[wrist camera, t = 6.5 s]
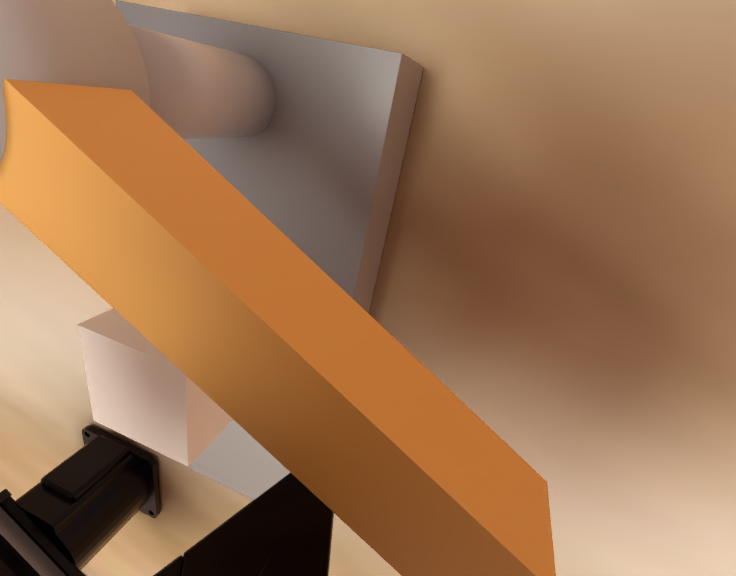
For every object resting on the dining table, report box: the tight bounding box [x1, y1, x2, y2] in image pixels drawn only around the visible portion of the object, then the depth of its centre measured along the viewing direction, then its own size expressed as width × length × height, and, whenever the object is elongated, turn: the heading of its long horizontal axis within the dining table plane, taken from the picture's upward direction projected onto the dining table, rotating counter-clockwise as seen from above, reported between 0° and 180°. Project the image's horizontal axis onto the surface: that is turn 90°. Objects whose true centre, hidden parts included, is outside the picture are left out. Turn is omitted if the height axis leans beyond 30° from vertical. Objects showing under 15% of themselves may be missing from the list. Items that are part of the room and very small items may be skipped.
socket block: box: [116, 0, 424, 314], centre depth 14 cm, size 15×10×8 cm, turn 169°
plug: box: [78, 308, 233, 467], centre depth 16 cm, size 4×4×8 cm
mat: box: [190, 420, 290, 500], centre depth 23 cm, size 9×9×1 cm
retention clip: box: [0, 0, 556, 576], centre depth 7 cm, size 14×4×3 cm, turn 50°
